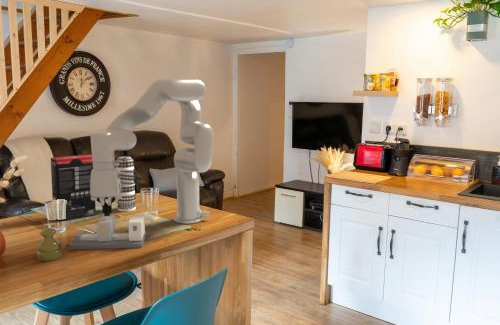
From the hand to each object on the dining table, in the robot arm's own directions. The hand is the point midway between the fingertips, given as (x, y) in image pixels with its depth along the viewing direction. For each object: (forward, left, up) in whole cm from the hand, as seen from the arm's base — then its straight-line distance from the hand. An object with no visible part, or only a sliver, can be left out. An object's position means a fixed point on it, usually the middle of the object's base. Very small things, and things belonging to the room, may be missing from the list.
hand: (107, 215), depth 155 cm
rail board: (-1, 0, -10) cm, 10 cm away
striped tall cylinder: (+2, -46, -10) cm, 47 cm away
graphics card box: (+22, -34, -11) cm, 42 cm away
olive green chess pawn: (+16, +14, -11) cm, 24 cm away
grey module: (0, 0, -9) cm, 9 cm away
